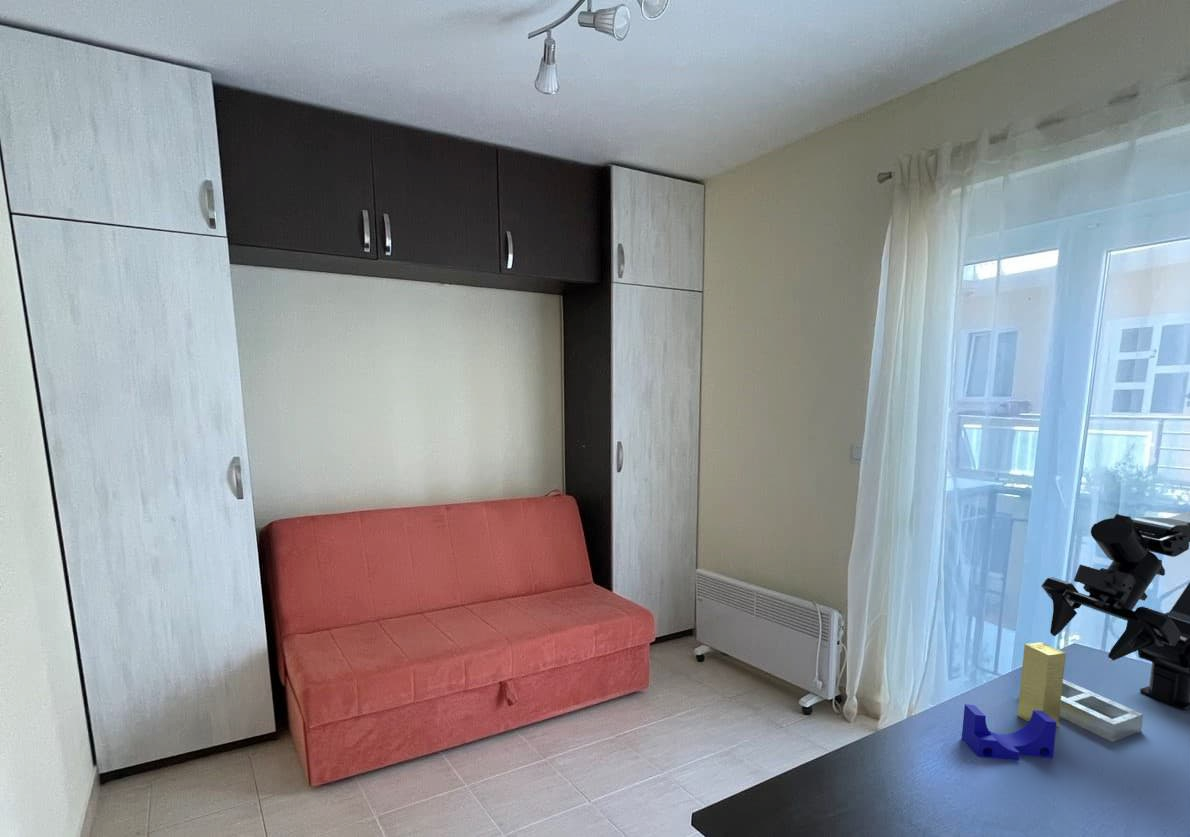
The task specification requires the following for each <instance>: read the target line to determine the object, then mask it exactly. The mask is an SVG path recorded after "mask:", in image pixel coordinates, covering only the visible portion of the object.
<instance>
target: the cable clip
mask: <svg viewBox="0 0 1190 837" xmlns="http://www.w3.org/2000/svg"><path fill="white" fill-rule="evenodd" d="M986 717H987V716H986V714H984V713H983V712H982V711H981V710H980V709H979V708H978V707H977V706H976V705H975V704H969V703H965V704H964V709H963V720H962V731H961V740H962V741H963V742H964V743H965V744H966V745H967V746H968V747H969V749H970V750H971V751H972V752H973V753H974V754H975V755H976V757H977V758H978V757H979V758H989V759H998V760H1008V759H1009V760H1010V761H1019V760H1020V756H1029V757H1040V758H1049V759H1053V758H1054V750H1055V749H1054V748H1055V743H1056V742H1055V740H1056V731H1057V727H1056V723H1057V722H1056V721H1055V720H1053V719H1052V718H1051V717H1050V716H1048V715H1047V714H1046V713H1045V712H1044V711H1038V710H1033V713H1032V716H1031V719H1030V721H1029V722H1028V721H1027V724H1026V725H1025V726H1023V727H1022V728H1021V729H1019V730H1017V731H1015V732H1011V733H1008V734H1007V733H1003V734H1002V733H996V732H993V731H990V730H989V729H988V725H987V722H986V720H987V719H986Z"/></svg>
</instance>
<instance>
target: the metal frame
mask: <svg viewBox="0 0 1190 837" xmlns="http://www.w3.org/2000/svg"><path fill="white" fill-rule="evenodd" d="M1059 718H1062V719H1063V720H1066V721H1069V722H1070V723H1072V724H1074V725H1076V726H1078V727H1080V728H1083V729H1084V730H1087V731H1088V732H1090V733H1092V734H1095V735H1096V736H1098V737H1100V738H1103V739H1104V740H1107V741H1109V742H1111V743H1113V742H1116V741H1119V740H1121V739H1124V738H1126V737H1129V736H1132V735H1135V734H1138V733H1140V732H1142V728H1143V719H1144V714H1143V713H1141V712H1140V711H1136V710H1134V709H1132V708H1130V707H1127V706H1125V705H1123V704H1121V703H1118V702H1116V701H1114V700H1111V699H1109V698H1107V697H1105V696H1102V695H1100V694H1099V693H1095V692H1093V691H1091V690H1089V689H1086V688H1085V687H1082V686H1080V685H1077V684H1075V683H1073V682H1070V681H1069V680H1066V679H1064V678H1063V685H1062V695H1061V704H1060V714H1059Z"/></svg>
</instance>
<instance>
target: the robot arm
mask: <svg viewBox="0 0 1190 837" xmlns="http://www.w3.org/2000/svg"><path fill="white" fill-rule="evenodd" d="M1090 535H1091V537H1092V538H1093V540H1094V541H1095V542H1096V543H1097V545H1098V546H1099V548H1100V549H1101V550H1102V552H1103V553H1104V554H1105V556H1106V557H1107V559H1110V560H1111V561H1112V562H1111V563H1110V565H1109V566H1108V567H1107V568H1104V567H1101V568H1100V569H1098V568H1094V567H1091V566H1087V565H1083V564H1079V565H1078V569H1077V570H1076V574H1075V576H1074V579H1073V581H1074V582H1076V583H1080V584H1082V585H1083V587H1082V589H1083V590H1084V591H1085V592H1086V593H1089V595H1086V594H1085V593H1081V592H1079V591H1078V589H1077V588H1076V587H1075V586H1074V585H1073V583H1072V582H1068V581H1066V580H1063V579H1061V578H1060V579H1059V578H1057V577H1053V576H1052V577H1047V578H1046V579H1045V580H1044V582H1043V583H1042V584H1041V588H1042V589H1043V590H1044V592H1045V593H1046V594H1047V596H1048V597H1049V598H1050V599H1051V601H1052V608H1053V609H1052V617H1051V625H1050V631H1049V633H1050V634H1051V635H1052V636H1053V637H1056V636H1057V635H1058V634H1060V633H1062V630H1064V629H1065V627H1067V626H1068V624H1069V623H1070V622H1071V621H1072V620H1073V619H1074V618H1075V616H1076V615H1078V613H1077V611H1076V609H1077V610H1078V609H1079V608H1081V606H1084V607H1087V608H1090V609H1093V610H1095V611H1099V612H1101V613H1104V614H1106V615H1110V616H1112V617H1116V618H1118V619H1122V620H1124V621H1126V627H1125V629H1124V632H1123V633H1122V634H1121V636H1120V637H1119V638H1118V640H1117V641H1116V642H1115V643H1114V644H1113V646H1112V648H1111V649H1110V652H1109V653H1108V656H1107V657H1108V659H1109V660H1110V661H1113V662H1114V661H1115V660H1118V659H1121V658H1123V657H1125V656H1127V655H1130V654H1132V653H1135V652H1137V654H1138V658H1140V659H1143V660H1146V661H1149V662H1151V667H1150V668H1151V669H1150V676H1149V678H1150V679H1149V685H1148V686H1145V687H1143V688H1140V689H1139V692H1140V691H1141V692H1140V693H1142V694H1144V693H1145V694H1144V695H1146V694H1147V695H1146V696H1149V697H1151V696H1152V698H1154V699H1157V700H1159V701H1161V702H1164V703H1166V704H1168V705H1171V706H1174V707H1176V708H1178V709H1180V708H1182V709H1181V710H1186V709H1185V708H1188V707H1190V581H1189V582H1188V584H1187V586H1186V587H1185V588H1184V590H1183V591H1182V593H1181V594H1180V595H1179V598H1178V599H1177V600H1176V601H1175V603H1174V604H1173V606H1172V607H1171V609H1170V610H1169V612H1168V611H1167V612H1165V613H1163V612H1161V611H1158V610H1156V609H1155V610H1154V609H1152V608H1148V607H1145V606H1139V607H1138V606H1137V603H1138V602H1139V601H1143V602H1145V601H1146V600H1147V598H1148V595H1147V594H1146V590H1147V589H1148V587H1149V586H1150V584H1151V583H1152V582H1153V580H1154V579H1155V577H1156V576H1157V575H1159V576H1165V575H1166V569H1165V567H1164V566H1163V561H1162V559H1159V558H1158V556H1157V555H1156V554H1159V555H1164V556H1166V557H1167V556H1168V557H1173V558H1175V557H1178V556H1180V555H1182V554H1183V553H1184V552H1186V551H1188V550H1190V511H1187V512H1183V513H1180V514H1177V515H1173V516H1171V517H1163V518H1162V517H1152V516H1143V517H1141V516H1140V517H1139V516H1138V517H1135V518H1133V519H1132V518H1131V516H1129V515H1124V514H1120V513H1116V514H1115V515H1114V517H1110V518H1106V519H1105V518H1104V519H1102V520H1100V521H1098V522H1097V523H1094V524H1093V525H1092V527H1091V529H1090ZM1155 553H1156V554H1155ZM1135 606H1137V608H1136V609H1135V610H1134V608H1135ZM1183 708H1184V709H1183ZM1188 709H1189V708H1188Z"/></svg>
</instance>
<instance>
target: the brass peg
mask: <svg viewBox="0 0 1190 837" xmlns="http://www.w3.org/2000/svg"><path fill="white" fill-rule="evenodd" d="M1066 654H1067V653H1066V652H1064V651H1063V650H1060V649H1057V648H1056V647H1053V646H1052V645H1049V644H1046V643H1045V642H1033V643H1032V642H1030V643H1024V648H1023V657H1022V665H1021V666H1022V667H1021V668H1022V669H1021V679H1020V687H1019V696H1018V705H1017V707H1018V708H1017V716H1018V717H1019V718H1021V719H1022V720H1024V721H1026V722H1027V723H1028V722H1029V721H1030V719H1031V716H1032V713H1033V710H1038V711H1044V712H1045V713H1046V714H1047V715H1048V716H1050V717H1051V718H1052V719H1053V720H1055V721H1056V722H1057V723H1056V728H1057V727H1059V723H1060V722H1059V721H1060V716H1059V714H1060V704H1061V695H1062V685H1063V679H1064V676H1065V666H1066V665H1065V664H1066V656H1067V655H1066Z"/></svg>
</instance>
